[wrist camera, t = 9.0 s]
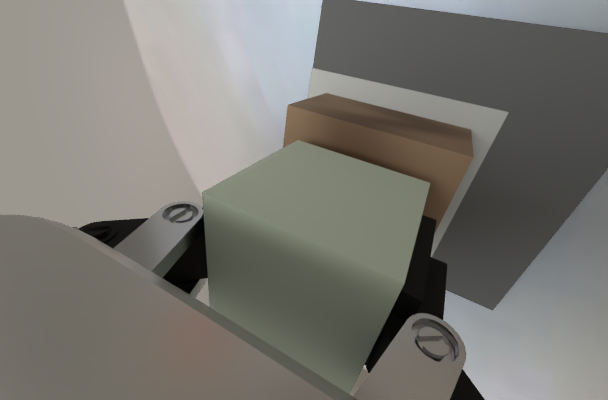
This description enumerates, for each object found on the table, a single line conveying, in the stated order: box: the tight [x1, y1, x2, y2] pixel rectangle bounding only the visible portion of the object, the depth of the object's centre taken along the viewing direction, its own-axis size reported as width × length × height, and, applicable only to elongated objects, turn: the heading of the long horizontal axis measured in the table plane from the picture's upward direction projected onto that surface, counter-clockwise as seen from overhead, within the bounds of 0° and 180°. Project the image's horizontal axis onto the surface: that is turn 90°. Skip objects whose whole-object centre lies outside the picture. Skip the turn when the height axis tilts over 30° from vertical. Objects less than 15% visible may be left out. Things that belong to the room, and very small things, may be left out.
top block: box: [202, 140, 430, 394], centre depth 9 cm, size 5×5×5 cm
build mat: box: [308, 0, 608, 310], centre depth 14 cm, size 13×13×1 cm
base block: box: [283, 93, 474, 234], centre depth 14 cm, size 7×7×4 cm
